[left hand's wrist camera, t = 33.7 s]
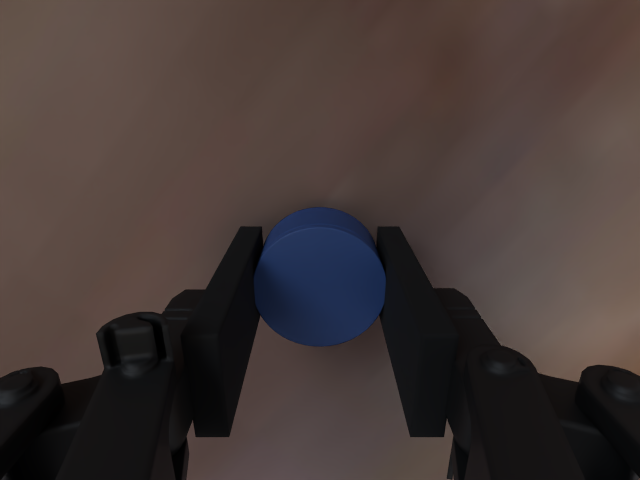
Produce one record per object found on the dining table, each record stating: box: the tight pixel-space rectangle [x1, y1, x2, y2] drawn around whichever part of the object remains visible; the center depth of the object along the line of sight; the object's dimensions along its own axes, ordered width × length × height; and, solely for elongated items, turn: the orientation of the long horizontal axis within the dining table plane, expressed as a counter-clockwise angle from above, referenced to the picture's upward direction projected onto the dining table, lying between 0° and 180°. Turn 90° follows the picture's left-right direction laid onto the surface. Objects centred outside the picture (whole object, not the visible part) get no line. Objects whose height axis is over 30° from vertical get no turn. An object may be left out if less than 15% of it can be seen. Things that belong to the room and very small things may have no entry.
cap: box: [253, 207, 386, 346], centre depth 13 cm, size 4×4×2 cm
